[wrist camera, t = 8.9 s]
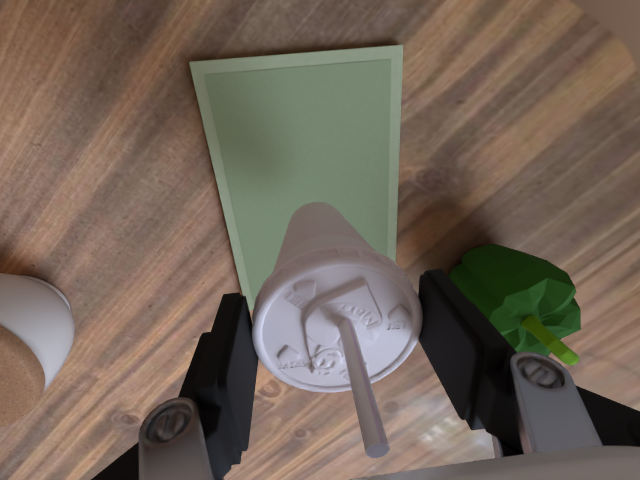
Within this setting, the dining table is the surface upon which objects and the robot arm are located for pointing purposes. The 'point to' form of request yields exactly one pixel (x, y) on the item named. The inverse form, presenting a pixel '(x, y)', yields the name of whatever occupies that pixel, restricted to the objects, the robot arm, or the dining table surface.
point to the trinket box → (30, 342)
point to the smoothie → (335, 314)
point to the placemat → (302, 145)
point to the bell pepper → (521, 298)
